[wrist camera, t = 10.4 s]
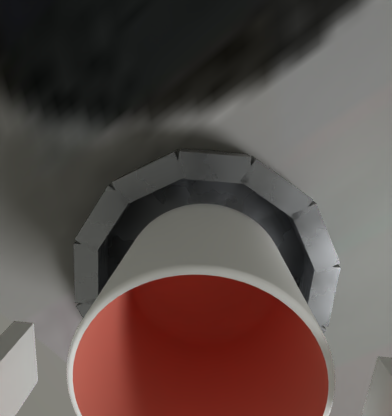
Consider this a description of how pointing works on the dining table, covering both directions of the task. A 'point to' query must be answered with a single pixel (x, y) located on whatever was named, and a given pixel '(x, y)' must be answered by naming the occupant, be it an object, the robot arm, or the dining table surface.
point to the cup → (201, 327)
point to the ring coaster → (208, 194)
